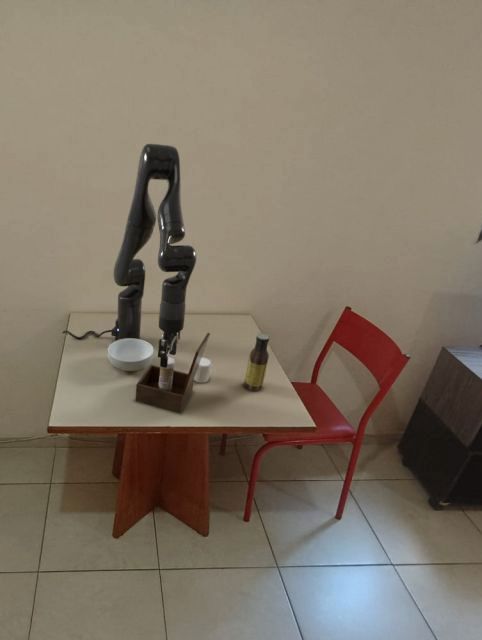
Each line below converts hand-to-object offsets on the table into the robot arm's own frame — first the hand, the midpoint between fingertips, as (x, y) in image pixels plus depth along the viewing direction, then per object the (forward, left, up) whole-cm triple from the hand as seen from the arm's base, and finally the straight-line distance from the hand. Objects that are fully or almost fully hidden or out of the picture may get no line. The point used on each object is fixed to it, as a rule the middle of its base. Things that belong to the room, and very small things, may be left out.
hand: (168, 360), depth 141 cm
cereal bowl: (-18, +13, -14) cm, 26 cm away
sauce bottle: (+26, +19, -14) cm, 35 cm away
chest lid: (+9, 0, +1) cm, 9 cm away
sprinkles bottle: (0, 0, -14) cm, 14 cm away
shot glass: (+8, +16, -14) cm, 23 cm away
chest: (0, 0, -14) cm, 14 cm away
